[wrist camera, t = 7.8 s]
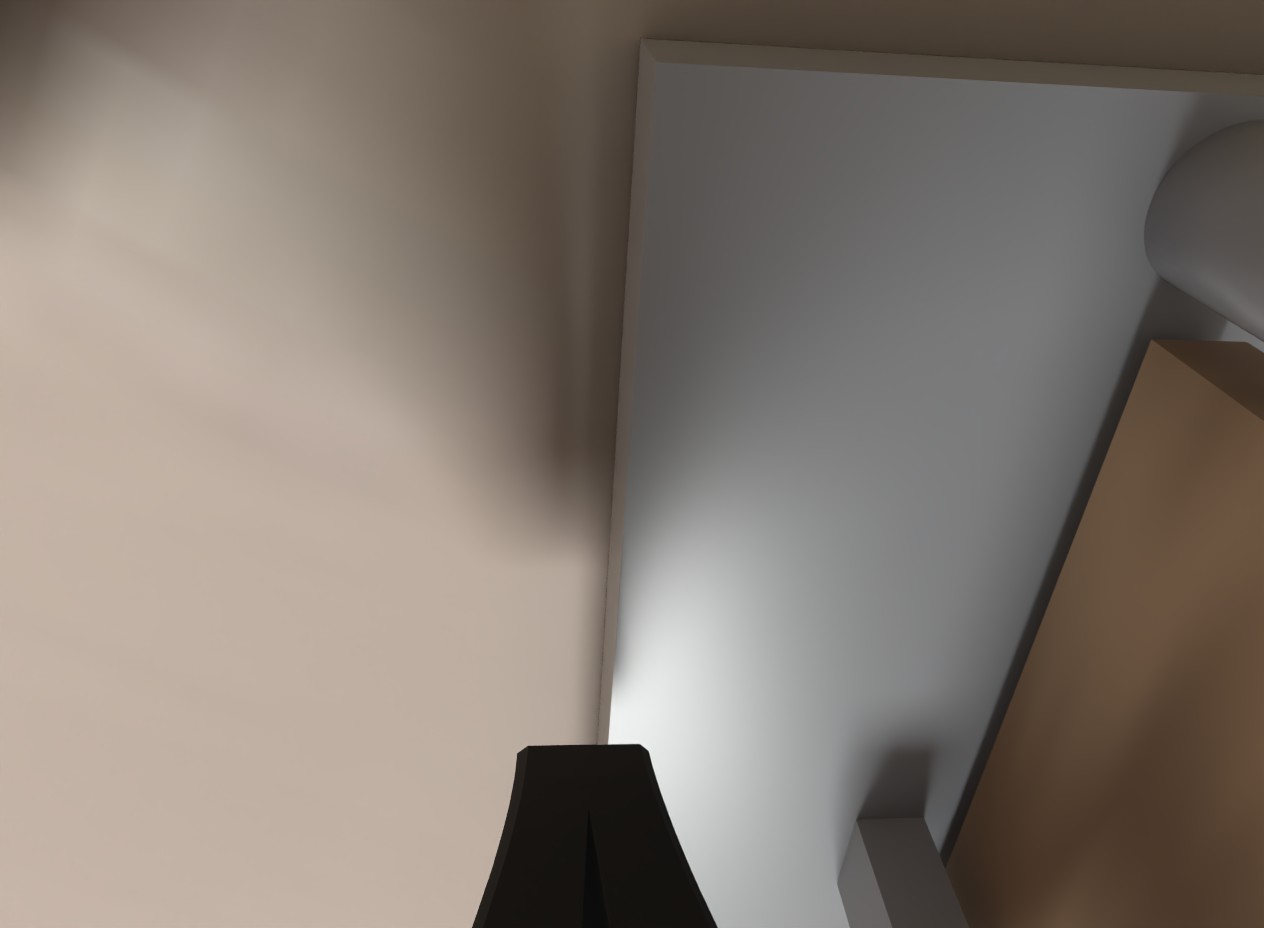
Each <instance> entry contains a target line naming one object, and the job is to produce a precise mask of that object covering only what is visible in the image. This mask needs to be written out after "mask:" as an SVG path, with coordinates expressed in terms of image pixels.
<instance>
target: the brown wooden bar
mask: <svg viewBox="0 0 1264 928" xmlns="http://www.w3.org/2000/svg"><path fill="white" fill-rule="evenodd" d="M945 870H946V872H947V875H948V877H949V880H950V882H951V885H952V887H953V890H954V892H955V894H956V897H957V899H958V902H959V904H960V907H961V909H962V912H963V914H964V916H965V919H966V921H967V924H968V926H969V928H1264V353H1263V352H1262V351H1260V350H1259V349H1257V348H1255V347H1254V346H1252V345H1251V344H1249V343H1248V342H1234V341H1197V340H1160V339H1151V341H1150V344H1149V347H1148V349H1147V352H1146V354H1145V357H1144V360H1143V362H1142V365H1141V367H1140V370H1139V372H1138V375H1137V378H1136V380H1135V383H1134V385H1133V388H1132V390H1131V393H1130V396H1129V398H1128V401H1127V403H1126V406H1125V408H1124V411H1123V414H1122V416H1121V419H1120V421H1119V424H1118V426H1117V429H1116V432H1115V434H1114V437H1113V439H1112V442H1111V444H1110V447H1109V450H1108V452H1107V455H1106V457H1105V460H1104V462H1103V465H1102V468H1101V470H1100V473H1099V475H1098V478H1097V480H1096V483H1095V486H1094V488H1093V491H1092V493H1091V496H1090V499H1089V501H1088V504H1087V506H1086V509H1085V511H1084V514H1083V517H1082V519H1081V522H1080V524H1079V527H1078V529H1077V532H1076V535H1075V537H1074V540H1073V542H1072V545H1071V547H1070V550H1069V553H1068V555H1067V558H1066V560H1065V563H1064V565H1063V568H1062V571H1061V573H1060V576H1059V578H1058V581H1057V583H1056V586H1055V589H1054V591H1053V594H1052V596H1051V599H1050V601H1049V604H1048V607H1047V609H1046V612H1045V614H1044V617H1043V619H1042V622H1041V625H1040V627H1039V630H1038V632H1037V635H1036V637H1035V640H1034V643H1033V645H1032V648H1031V650H1030V653H1029V656H1028V658H1027V661H1026V663H1025V666H1024V668H1023V671H1022V674H1021V676H1020V679H1019V681H1018V684H1017V686H1016V689H1015V692H1014V694H1013V697H1012V699H1011V702H1010V704H1009V707H1008V710H1007V712H1006V715H1005V717H1004V720H1003V722H1002V725H1001V728H1000V730H999V733H998V735H997V738H996V740H995V743H994V746H993V748H992V751H991V753H990V756H989V758H988V761H987V764H986V766H985V769H984V771H983V774H982V776H981V779H980V782H979V784H978V787H977V789H976V792H975V795H974V797H973V800H972V802H971V805H970V807H969V810H968V813H967V815H966V818H965V820H964V823H963V825H962V828H961V831H960V833H959V836H958V838H957V841H956V843H955V846H954V849H953V851H952V854H951V856H950V859H949V861H948V864H947V867H946V869H945Z"/></svg>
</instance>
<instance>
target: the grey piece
mask: <svg viewBox="0 0 1264 928" xmlns="http://www.w3.org/2000/svg"><path fill="white" fill-rule="evenodd" d="M1151 339H1160V340H1197V341H1234V342H1248V343H1249V344H1251V345H1252V346H1254V347H1255V348H1257V349H1259V350H1260V351H1262V352H1263V353H1264V75H1256V74H1239V73H1222V72H1205V71H1188V70H1171V69H1154V68H1137V67H1120V66H1102V65H1085V64H1068V63H1051V62H1034V61H1017V60H1000V59H983V58H966V57H949V56H931V55H914V54H897V53H880V52H863V51H846V50H829V49H812V48H795V47H778V46H761V45H743V44H726V43H709V42H692V41H675V40H658V39H641V40H640V56H639V72H638V88H637V105H636V121H635V137H634V154H633V170H632V186H631V202H630V219H629V235H628V251H627V267H626V284H625V300H624V316H623V333H622V349H621V365H620V381H619V398H618V414H617V430H616V447H615V463H614V479H613V495H612V512H611V528H610V544H609V561H608V577H607V593H606V609H605V626H604V642H603V658H602V675H601V691H600V707H599V723H598V740H597V745H603V744H641V745H642V746H643V747H644V748H646V749H647V750H648V751H649V754H650V758H651V762H652V765H653V769H654V772H655V775H656V779H657V782H658V785H659V788H660V791H661V794H662V797H663V800H664V803H665V806H666V808H667V811H668V814H669V816H670V819H671V822H672V824H673V827H674V829H675V832H676V834H677V837H678V839H679V842H680V844H681V847H682V849H683V852H684V854H685V856H686V859H687V861H688V864H689V866H690V868H691V871H692V873H693V875H694V877H695V880H696V882H697V884H698V886H699V889H700V891H701V893H702V895H703V897H704V899H705V901H706V903H707V906H708V908H709V910H710V912H711V914H712V916H713V918H714V920H715V922H716V925H717V927H718V928H969V926H968V924H967V921H966V919H965V916H964V914H963V912H962V909H961V907H960V904H959V902H958V899H957V897H956V894H955V892H954V890H953V887H952V885H951V882H950V880H949V877H948V875H947V872H946V870H945V869H946V867H947V864H948V861H949V859H950V856H951V854H952V851H953V849H954V846H955V843H956V841H957V838H958V836H959V833H960V831H961V828H962V825H963V823H964V820H965V818H966V815H967V813H968V810H969V807H970V805H971V802H972V800H973V797H974V795H975V792H976V789H977V787H978V784H979V782H980V779H981V776H982V774H983V771H984V769H985V766H986V764H987V761H988V758H989V756H990V753H991V751H992V748H993V746H994V743H995V740H996V738H997V735H998V733H999V730H1000V728H1001V725H1002V722H1003V720H1004V717H1005V715H1006V712H1007V710H1008V707H1009V704H1010V702H1011V699H1012V697H1013V694H1014V692H1015V689H1016V686H1017V684H1018V681H1019V679H1020V676H1021V674H1022V671H1023V668H1024V666H1025V663H1026V661H1027V658H1028V656H1029V653H1030V650H1031V648H1032V645H1033V643H1034V640H1035V637H1036V635H1037V632H1038V630H1039V627H1040V625H1041V622H1042V619H1043V617H1044V614H1045V612H1046V609H1047V607H1048V604H1049V601H1050V599H1051V596H1052V594H1053V591H1054V589H1055V586H1056V583H1057V581H1058V578H1059V576H1060V573H1061V571H1062V568H1063V565H1064V563H1065V560H1066V558H1067V555H1068V553H1069V550H1070V547H1071V545H1072V542H1073V540H1074V537H1075V535H1076V532H1077V529H1078V527H1079V524H1080V522H1081V519H1082V517H1083V514H1084V511H1085V509H1086V506H1087V504H1088V501H1089V499H1090V496H1091V493H1092V491H1093V488H1094V486H1095V483H1096V480H1097V478H1098V475H1099V473H1100V470H1101V468H1102V465H1103V462H1104V460H1105V457H1106V455H1107V452H1108V450H1109V447H1110V444H1111V442H1112V439H1113V437H1114V434H1115V432H1116V429H1117V426H1118V424H1119V421H1120V419H1121V416H1122V414H1123V411H1124V408H1125V406H1126V403H1127V401H1128V398H1129V396H1130V393H1131V390H1132V388H1133V385H1134V383H1135V380H1136V378H1137V375H1138V372H1139V370H1140V367H1141V365H1142V362H1143V360H1144V357H1145V354H1146V352H1147V349H1148V347H1149V344H1150V341H1151Z"/></svg>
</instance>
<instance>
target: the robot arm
mask: <svg viewBox="0 0 1264 928" xmlns="http://www.w3.org/2000/svg"><path fill="white" fill-rule="evenodd" d="M472 928H718V927H717V925H716V922H715V920H714V918H713V916H712V914H711V912H710V910H709V908H708V906H707V903H706V901H705V899H704V897H703V895H702V893H701V891H700V889H699V886H698V884H697V882H696V880H695V877H694V875H693V873H692V871H691V868H690V866H689V864H688V861H687V859H686V856H685V854H684V852H683V849H682V847H681V844H680V842H679V839H678V837H677V834H676V832H675V829H674V827H673V824H672V822H671V819H670V816H669V814H668V811H667V808H666V806H665V803H664V800H663V797H662V794H661V791H660V788H659V785H658V782H657V779H656V775H655V772H654V769H653V765H652V762H651V758H650V754H649V751H648V750H647V749H646V748H644V747H643V746H642V745H641V744H603V745H550V746H527V747H526V748H524V749H523V750H522V751H520V752H519V753H517V762H516V771H515V778H514V784H513V789H512V794H511V800H510V804H509V809H508V813H507V817H506V821H505V825H504V829H503V833H502V836H501V840H500V843H499V847H498V850H497V854H496V857H495V861H494V864H493V867H492V871H491V874H490V877H489V880H488V883H487V885H486V888H485V891H484V894H483V897H482V900H481V903H480V906H479V909H478V912H477V915H476V918H475V921H474V924H473V927H472Z"/></svg>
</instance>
